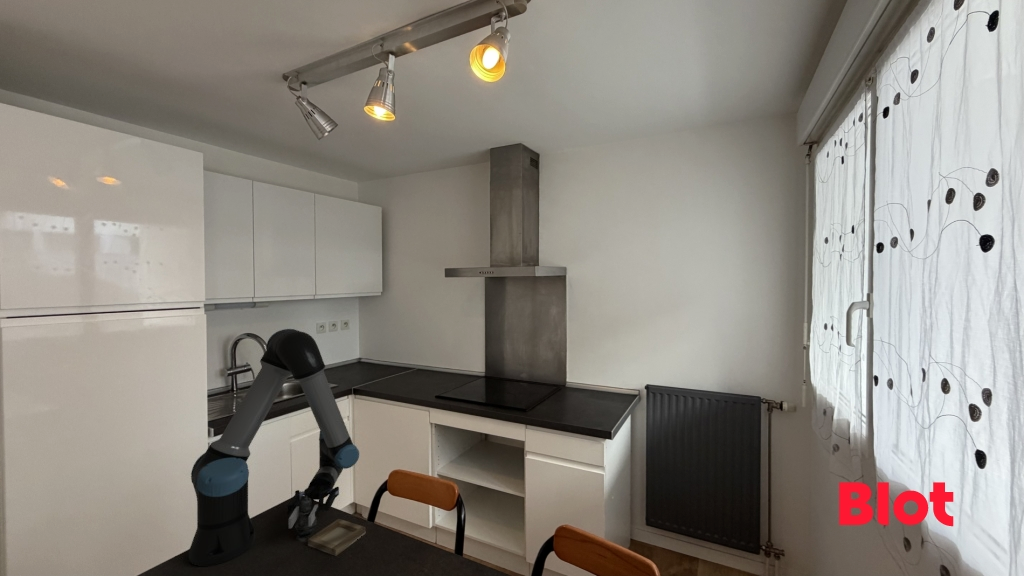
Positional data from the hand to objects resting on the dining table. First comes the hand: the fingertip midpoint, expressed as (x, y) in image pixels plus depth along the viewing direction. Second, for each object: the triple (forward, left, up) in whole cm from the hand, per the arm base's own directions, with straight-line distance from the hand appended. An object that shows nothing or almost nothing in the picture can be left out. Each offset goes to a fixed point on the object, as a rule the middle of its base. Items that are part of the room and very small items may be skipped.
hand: (300, 522), depth 111 cm
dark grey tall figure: (-3, +4, -7) cm, 9 cm away
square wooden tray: (+7, +7, -7) cm, 12 cm away
